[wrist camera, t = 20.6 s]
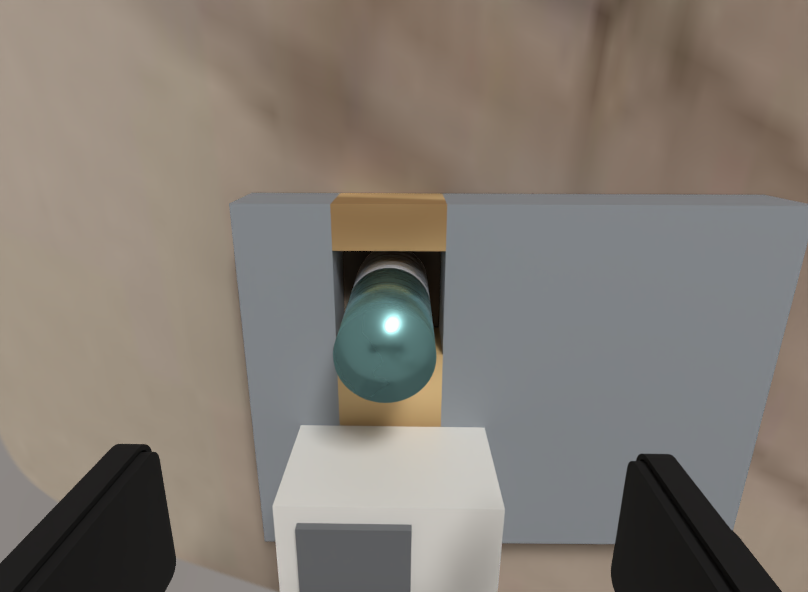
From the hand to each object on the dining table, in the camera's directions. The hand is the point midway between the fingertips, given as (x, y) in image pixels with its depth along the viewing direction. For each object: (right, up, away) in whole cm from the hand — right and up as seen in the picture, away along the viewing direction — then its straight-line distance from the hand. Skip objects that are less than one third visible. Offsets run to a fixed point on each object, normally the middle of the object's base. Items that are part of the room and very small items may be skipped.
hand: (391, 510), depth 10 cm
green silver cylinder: (0, +5, +13) cm, 14 cm away
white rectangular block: (0, -4, +13) cm, 14 cm away
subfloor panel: (+5, +1, +14) cm, 15 cm away
